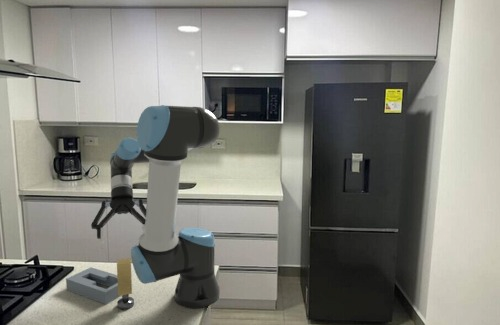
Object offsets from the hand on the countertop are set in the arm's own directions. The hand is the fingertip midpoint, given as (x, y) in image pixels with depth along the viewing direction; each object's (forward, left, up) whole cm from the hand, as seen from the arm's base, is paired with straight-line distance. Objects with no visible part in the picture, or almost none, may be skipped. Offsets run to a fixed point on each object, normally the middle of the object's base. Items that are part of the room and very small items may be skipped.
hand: (123, 245), depth 113 cm
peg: (-7, +6, -17) cm, 19 cm away
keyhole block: (+9, +4, -17) cm, 19 cm away
